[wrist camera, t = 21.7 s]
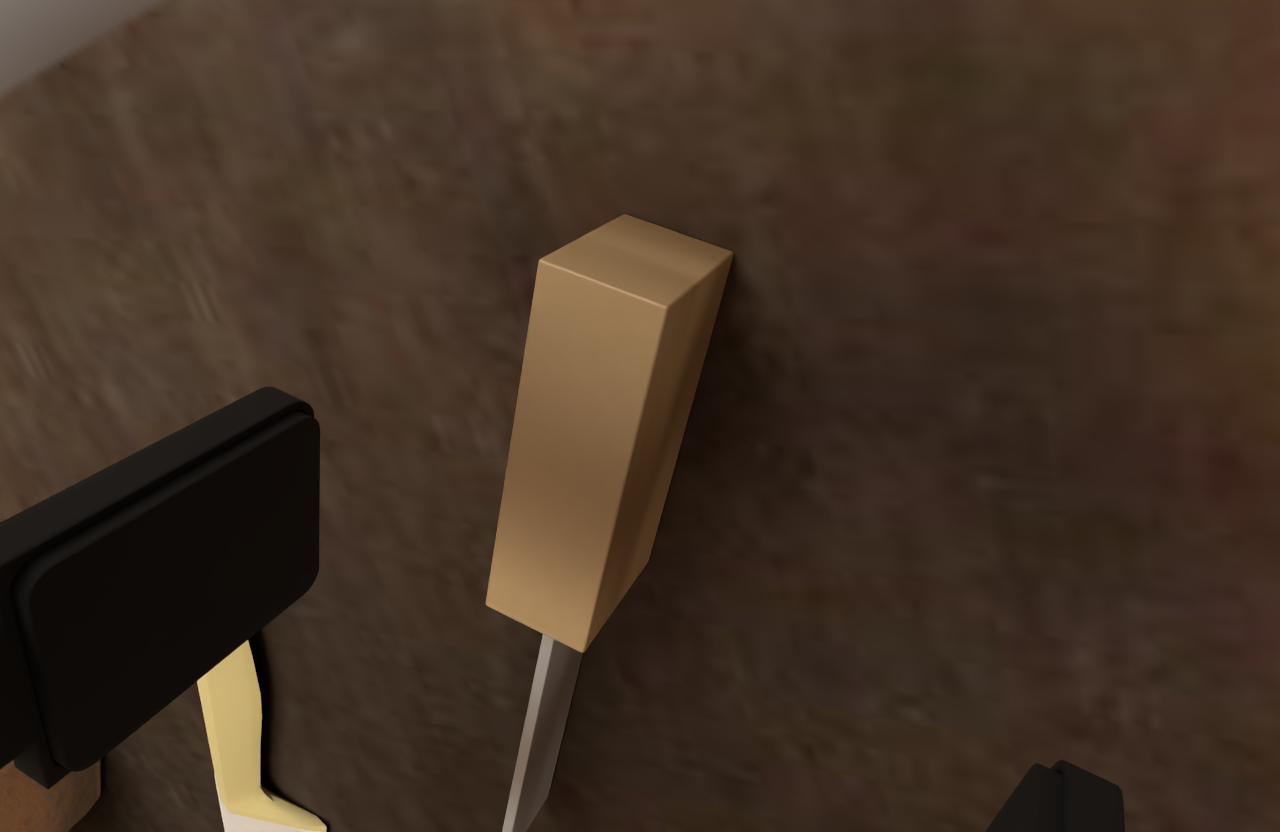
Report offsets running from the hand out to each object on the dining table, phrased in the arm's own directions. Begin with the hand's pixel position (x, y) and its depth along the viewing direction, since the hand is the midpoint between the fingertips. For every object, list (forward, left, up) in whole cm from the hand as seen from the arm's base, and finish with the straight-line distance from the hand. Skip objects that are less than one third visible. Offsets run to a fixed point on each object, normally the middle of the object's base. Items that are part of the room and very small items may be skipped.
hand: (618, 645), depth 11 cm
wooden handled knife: (+7, -3, -8) cm, 11 cm away
